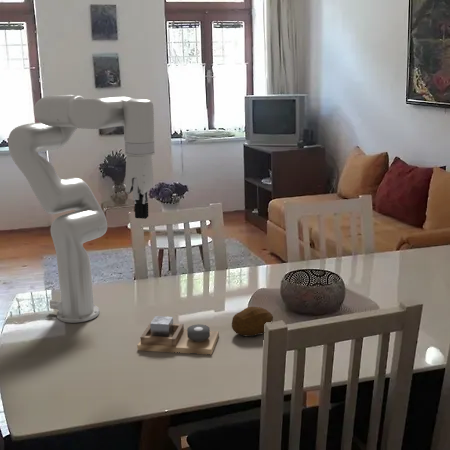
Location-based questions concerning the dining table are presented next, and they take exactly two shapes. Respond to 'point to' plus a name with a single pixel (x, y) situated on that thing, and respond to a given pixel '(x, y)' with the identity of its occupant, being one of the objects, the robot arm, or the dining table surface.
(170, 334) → the grey stone cube
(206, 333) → the wheel
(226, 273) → the dining table surface
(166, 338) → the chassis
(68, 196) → the robot arm
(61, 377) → the dining table surface
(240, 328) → the potato
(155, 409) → the dining table surface
